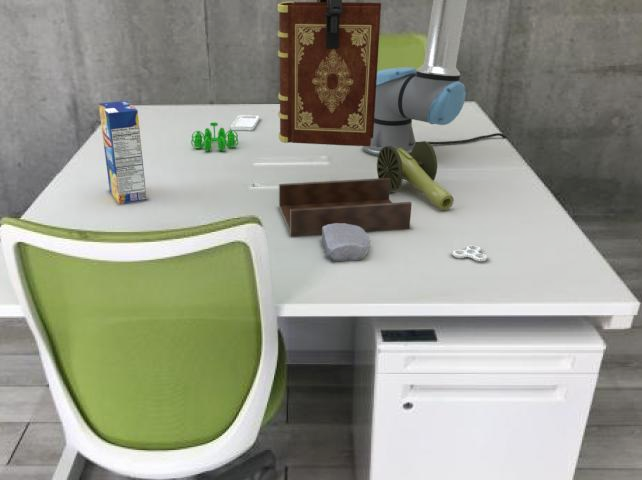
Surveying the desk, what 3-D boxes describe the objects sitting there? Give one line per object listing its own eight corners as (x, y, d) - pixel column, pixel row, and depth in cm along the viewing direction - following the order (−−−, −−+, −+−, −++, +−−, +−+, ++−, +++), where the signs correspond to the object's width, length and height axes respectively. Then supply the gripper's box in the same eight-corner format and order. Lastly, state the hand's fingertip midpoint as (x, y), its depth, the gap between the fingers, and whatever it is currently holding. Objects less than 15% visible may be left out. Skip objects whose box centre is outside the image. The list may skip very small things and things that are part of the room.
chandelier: (228, 155, 212) (227, 131, 209) (182, 151, 216) (180, 127, 213) (246, 141, 224) (246, 119, 221) (202, 138, 229) (201, 115, 225)
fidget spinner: (488, 261, 147) (489, 257, 147) (457, 262, 147) (458, 259, 146) (477, 247, 153) (478, 244, 153) (447, 248, 153) (448, 245, 152)
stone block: (361, 245, 159) (317, 238, 158) (366, 225, 157) (322, 218, 155) (371, 270, 149) (324, 263, 148) (377, 249, 147) (330, 242, 145)
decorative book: (275, 142, 172) (274, 5, 157) (282, 133, 179) (281, 1, 164) (370, 147, 168) (378, 6, 153) (373, 138, 175) (381, 2, 160)
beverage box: (119, 204, 178) (108, 113, 167) (109, 190, 187) (98, 103, 175) (146, 200, 180) (137, 110, 169) (135, 187, 189) (126, 100, 178)
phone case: (252, 130, 235) (260, 119, 248) (252, 126, 235) (260, 115, 247) (230, 130, 236) (239, 118, 249) (230, 125, 236) (238, 114, 248)
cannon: (466, 207, 174) (473, 161, 168) (424, 215, 170) (429, 168, 164) (410, 177, 193) (414, 134, 188) (371, 183, 189) (374, 140, 184)
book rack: (387, 201, 178) (389, 177, 175) (409, 228, 163) (411, 203, 160) (279, 207, 175) (278, 183, 172) (291, 236, 160) (291, 210, 156)
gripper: (360, -69, 143) (354, 52, 154) (338, -71, 161) (334, 37, 173) (323, -69, 142) (320, 53, 153) (304, -71, 160) (303, 38, 172)
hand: (327, 45), depth 163 cm, fingers closed on decorative book, 9 cm apart
